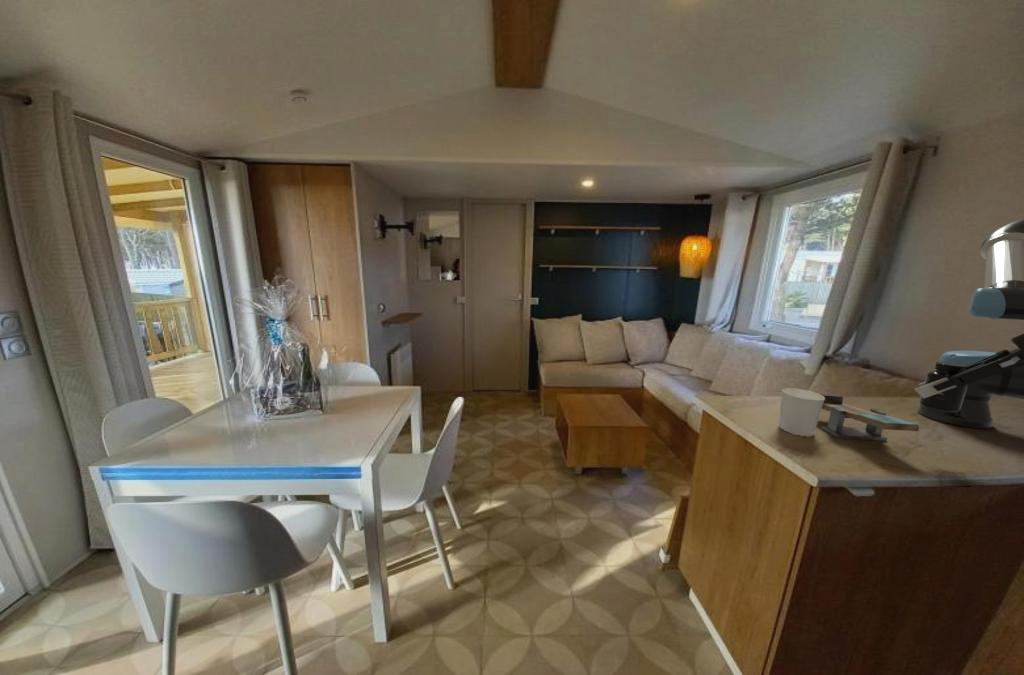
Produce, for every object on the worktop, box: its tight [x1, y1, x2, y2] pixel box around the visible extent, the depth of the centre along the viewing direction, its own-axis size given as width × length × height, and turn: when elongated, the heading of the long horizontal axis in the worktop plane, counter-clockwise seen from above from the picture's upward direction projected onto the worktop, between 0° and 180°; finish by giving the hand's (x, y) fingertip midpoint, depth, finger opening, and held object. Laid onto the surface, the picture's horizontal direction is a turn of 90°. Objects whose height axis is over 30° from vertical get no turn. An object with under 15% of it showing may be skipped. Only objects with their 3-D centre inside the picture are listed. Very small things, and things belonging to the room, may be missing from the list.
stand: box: [821, 407, 888, 442], centre depth 100 cm, size 13×6×8 cm, turn 83°
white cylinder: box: [778, 387, 825, 438], centre depth 102 cm, size 10×10×12 cm
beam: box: [819, 393, 920, 432], centre depth 99 cm, size 9×25×5 cm, turn 173°
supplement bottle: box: [919, 361, 968, 412], centre depth 87 cm, size 7×7×12 cm
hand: (921, 391), depth 90 cm, fingers closed on supplement bottle, 7 cm apart
